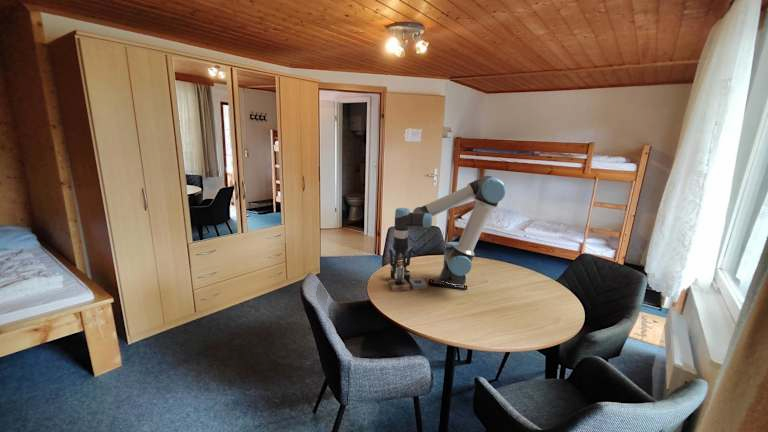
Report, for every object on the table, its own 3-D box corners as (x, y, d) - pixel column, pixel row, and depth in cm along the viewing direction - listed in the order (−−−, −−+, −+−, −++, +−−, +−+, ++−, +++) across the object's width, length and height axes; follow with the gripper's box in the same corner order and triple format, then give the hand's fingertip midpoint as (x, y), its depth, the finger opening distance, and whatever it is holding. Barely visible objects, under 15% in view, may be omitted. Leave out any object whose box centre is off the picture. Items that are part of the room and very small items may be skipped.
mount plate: (422, 282, 189) (422, 278, 188) (426, 288, 181) (427, 284, 181) (408, 283, 187) (408, 279, 187) (413, 289, 180) (413, 285, 179)
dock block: (404, 282, 188) (405, 278, 187) (410, 290, 178) (410, 286, 178) (388, 284, 185) (388, 280, 185) (392, 292, 176) (392, 287, 175)
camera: (414, 280, 192) (414, 265, 191) (408, 284, 186) (408, 269, 184) (395, 276, 199) (395, 262, 198) (389, 280, 193) (388, 265, 191)
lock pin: (401, 282, 184) (402, 260, 181) (403, 285, 180) (404, 263, 177) (394, 283, 183) (395, 260, 180) (396, 286, 179) (397, 263, 176)
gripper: (413, 234, 181) (411, 274, 186) (384, 235, 177) (383, 275, 182) (417, 238, 174) (415, 279, 179) (388, 239, 170) (386, 281, 175)
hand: (399, 277), depth 180 cm, fingers closed on lock pin, 3 cm apart
